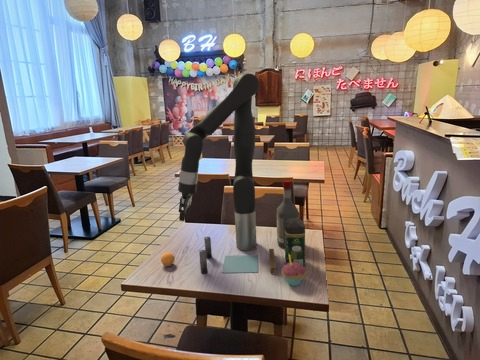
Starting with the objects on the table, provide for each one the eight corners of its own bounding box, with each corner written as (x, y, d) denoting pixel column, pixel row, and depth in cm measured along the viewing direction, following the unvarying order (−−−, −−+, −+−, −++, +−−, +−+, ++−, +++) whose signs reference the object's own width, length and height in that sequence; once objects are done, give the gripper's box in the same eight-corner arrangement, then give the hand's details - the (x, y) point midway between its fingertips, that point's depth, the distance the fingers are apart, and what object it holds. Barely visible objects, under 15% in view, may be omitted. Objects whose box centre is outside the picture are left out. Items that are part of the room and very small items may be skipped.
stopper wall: (273, 253, 137) (273, 248, 136) (276, 273, 121) (276, 267, 121) (269, 254, 137) (268, 248, 136) (270, 273, 122) (270, 267, 121)
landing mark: (257, 255, 136) (257, 254, 136) (257, 272, 123) (257, 272, 123) (225, 256, 137) (225, 255, 137) (221, 273, 124) (221, 272, 124)
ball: (176, 261, 134) (175, 249, 133) (173, 268, 129) (172, 256, 128) (163, 262, 134) (162, 250, 133) (160, 268, 129) (158, 256, 128)
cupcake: (291, 291, 110) (290, 259, 107) (277, 280, 117) (276, 250, 114) (310, 284, 114) (311, 253, 111) (296, 273, 121) (296, 244, 118)
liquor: (295, 239, 150) (295, 178, 143) (300, 248, 141) (299, 183, 134) (276, 240, 150) (275, 179, 142) (279, 249, 141) (278, 184, 134)
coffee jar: (284, 258, 133) (283, 216, 128) (303, 258, 132) (303, 216, 128) (285, 270, 123) (285, 225, 119) (306, 270, 123) (306, 225, 118)
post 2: (212, 255, 138) (210, 236, 136) (211, 258, 136) (210, 239, 133) (206, 255, 138) (204, 236, 136) (205, 258, 136) (203, 239, 134)
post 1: (208, 270, 126) (206, 249, 124) (207, 274, 123) (205, 253, 121) (201, 270, 126) (199, 250, 124) (200, 274, 123) (198, 253, 121)
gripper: (193, 187, 125) (189, 224, 129) (200, 178, 139) (195, 212, 143) (175, 184, 125) (171, 221, 129) (183, 175, 139) (179, 209, 143)
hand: (184, 216), depth 136 cm, fingers open, 8 cm apart
